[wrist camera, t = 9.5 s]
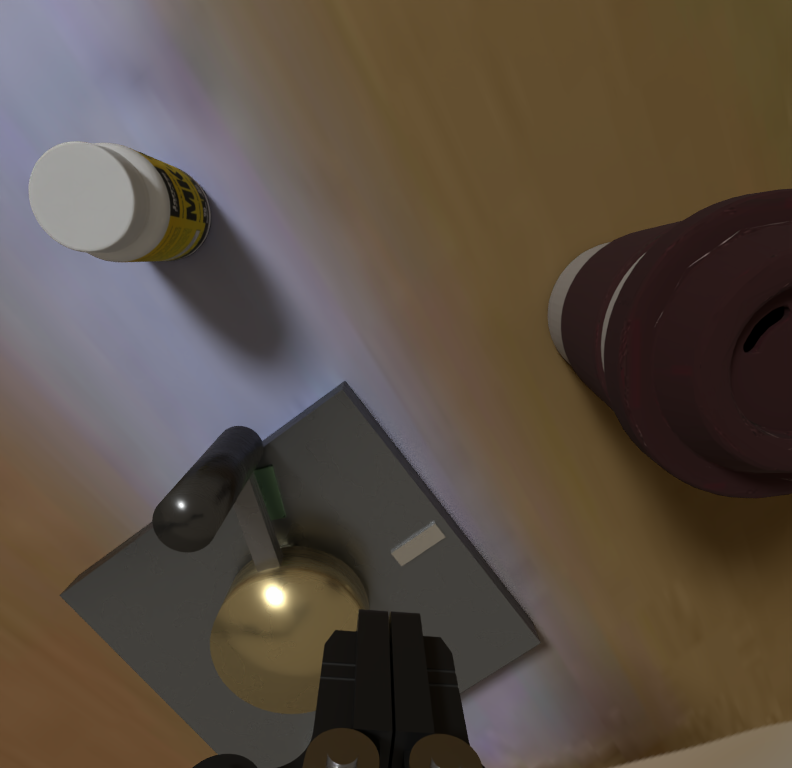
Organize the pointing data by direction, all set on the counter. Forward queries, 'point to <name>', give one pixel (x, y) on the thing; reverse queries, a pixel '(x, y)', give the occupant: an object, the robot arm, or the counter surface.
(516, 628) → the stand
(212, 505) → the cam capstan
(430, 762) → the robot arm
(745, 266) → the coffee cup
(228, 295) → the counter surface
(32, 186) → the supplement bottle
